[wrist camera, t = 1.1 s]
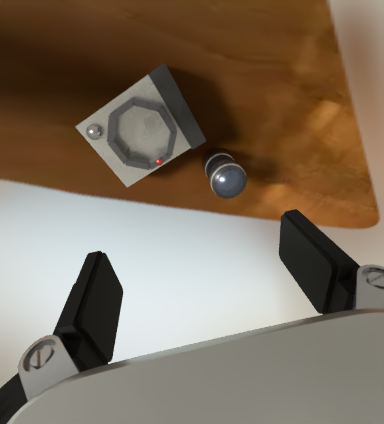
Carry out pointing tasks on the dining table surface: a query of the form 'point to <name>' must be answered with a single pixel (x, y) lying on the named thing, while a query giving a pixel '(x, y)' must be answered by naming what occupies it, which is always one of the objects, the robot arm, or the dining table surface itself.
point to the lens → (223, 173)
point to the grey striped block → (143, 127)
